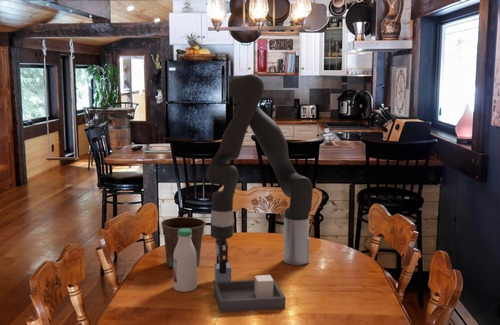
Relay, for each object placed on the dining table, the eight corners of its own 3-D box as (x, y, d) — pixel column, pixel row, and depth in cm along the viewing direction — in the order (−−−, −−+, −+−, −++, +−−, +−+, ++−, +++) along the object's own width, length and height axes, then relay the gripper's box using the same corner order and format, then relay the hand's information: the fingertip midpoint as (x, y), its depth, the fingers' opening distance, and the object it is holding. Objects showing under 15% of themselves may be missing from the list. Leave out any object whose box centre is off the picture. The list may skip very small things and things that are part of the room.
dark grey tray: (273, 288, 191) (273, 278, 190) (285, 308, 175) (285, 297, 175) (213, 292, 187) (213, 281, 187) (220, 312, 172) (220, 301, 171)
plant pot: (200, 255, 223) (199, 215, 220) (210, 269, 208) (210, 226, 205) (158, 259, 218) (157, 218, 215) (165, 274, 203) (165, 230, 200)
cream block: (254, 293, 184) (254, 275, 183) (269, 292, 185) (270, 274, 184) (257, 299, 179) (257, 281, 178) (273, 298, 180) (273, 280, 179)
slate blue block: (229, 279, 199) (229, 262, 197) (231, 284, 194) (231, 268, 193) (214, 280, 198) (214, 263, 197) (216, 285, 193) (216, 268, 192)
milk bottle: (200, 285, 193) (200, 227, 189) (190, 293, 186) (190, 234, 182) (179, 282, 195) (179, 225, 192) (169, 290, 188) (168, 231, 185)
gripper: (208, 217, 199) (208, 262, 201) (213, 228, 185) (212, 276, 187) (230, 217, 200) (229, 261, 203) (236, 228, 186) (235, 275, 189)
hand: (221, 268), depth 195 cm, fingers open, 8 cm apart
